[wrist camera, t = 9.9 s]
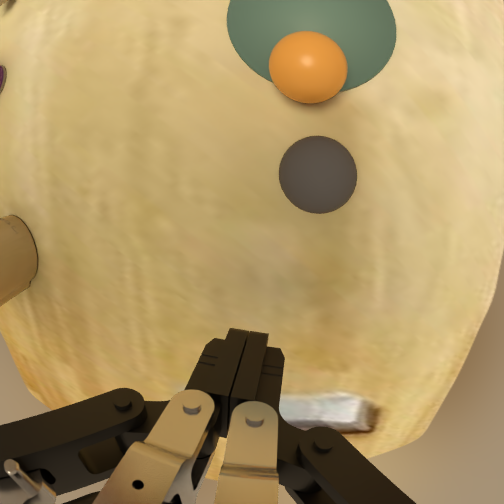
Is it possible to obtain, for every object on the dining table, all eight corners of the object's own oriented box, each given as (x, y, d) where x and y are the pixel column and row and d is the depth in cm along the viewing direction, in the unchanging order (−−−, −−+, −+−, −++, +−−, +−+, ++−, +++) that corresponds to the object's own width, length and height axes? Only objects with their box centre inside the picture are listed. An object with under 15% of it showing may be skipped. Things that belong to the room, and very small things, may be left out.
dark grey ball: (359, 170, 16) (357, 123, 19) (265, 165, 18) (281, 121, 21) (353, 232, 20) (355, 182, 24) (277, 226, 22) (289, 178, 25)
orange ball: (329, 126, 18) (336, 51, 14) (256, 105, 20) (251, 37, 15) (352, 94, 21) (359, 32, 16) (289, 77, 22) (288, 19, 18)
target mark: (358, 124, 21) (359, 123, 21) (200, 57, 21) (199, 56, 21) (414, 1, 16) (415, 0, 16) (268, -57, 16) (267, -58, 16)
